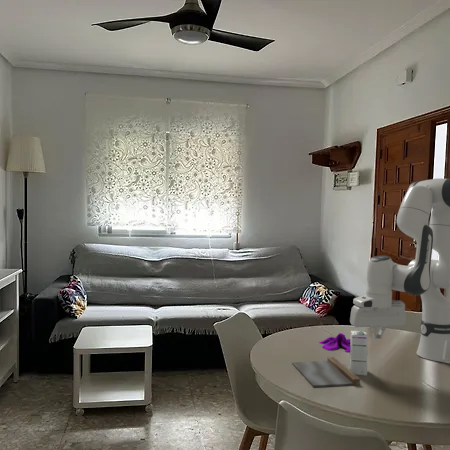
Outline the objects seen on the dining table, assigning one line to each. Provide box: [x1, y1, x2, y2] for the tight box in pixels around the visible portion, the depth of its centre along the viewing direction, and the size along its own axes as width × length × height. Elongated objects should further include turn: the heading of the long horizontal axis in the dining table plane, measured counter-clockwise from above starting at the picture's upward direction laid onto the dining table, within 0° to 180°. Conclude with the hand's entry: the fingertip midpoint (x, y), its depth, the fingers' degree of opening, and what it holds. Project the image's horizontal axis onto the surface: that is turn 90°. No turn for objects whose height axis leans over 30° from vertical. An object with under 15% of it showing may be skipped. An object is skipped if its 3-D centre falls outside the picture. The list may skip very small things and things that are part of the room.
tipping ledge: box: [292, 356, 361, 388], centre depth 162 cm, size 16×22×2 cm
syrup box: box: [349, 330, 369, 376], centre depth 164 cm, size 6×6×14 cm
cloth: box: [318, 332, 351, 353], centre depth 196 cm, size 22×19×6 cm
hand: (377, 338), depth 165 cm, fingers closed
